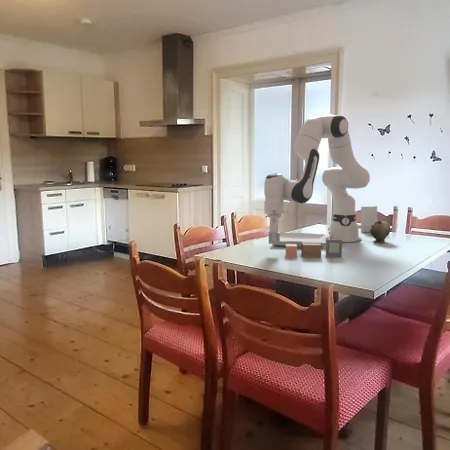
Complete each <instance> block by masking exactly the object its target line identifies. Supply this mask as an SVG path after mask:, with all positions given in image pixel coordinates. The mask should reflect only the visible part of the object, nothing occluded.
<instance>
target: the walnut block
mask: <svg viewBox="0 0 450 450" xmlns="http://www.w3.org/2000/svg"><path fill="white" fill-rule="evenodd" d="M300 249H301V251H300V253H301V257H302V258H303V259H322V247H321V244H320V243H319V242H301V247H300Z"/></svg>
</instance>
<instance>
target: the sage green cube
mask: <svg viewBox="0 0 450 450" xmlns="http://www.w3.org/2000/svg"><path fill="white" fill-rule="evenodd" d="M280 233H281V232H280V230H278V233H276V241H272V233H270V230H269V231H268V244H269V245H273V244H274V245H275V244H280Z"/></svg>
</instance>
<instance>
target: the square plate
mask: <svg viewBox="0 0 450 450" xmlns="http://www.w3.org/2000/svg"><path fill="white" fill-rule="evenodd" d="M326 237H327V234H324V233H309V232H280V244H274V245H275V246H277V247H285V248H286V244H297V248H301V242H319V243H320V244H321V248H322V247H324V246H326Z"/></svg>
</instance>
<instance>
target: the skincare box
mask: <svg viewBox="0 0 450 450" xmlns="http://www.w3.org/2000/svg"><path fill="white" fill-rule="evenodd" d="M377 221H378V206H377V205H362V206H360V232H361V233H369V234H371V233H370V230H371V228H372V227H371V226H372V225H374V224H375V222H377Z"/></svg>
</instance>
